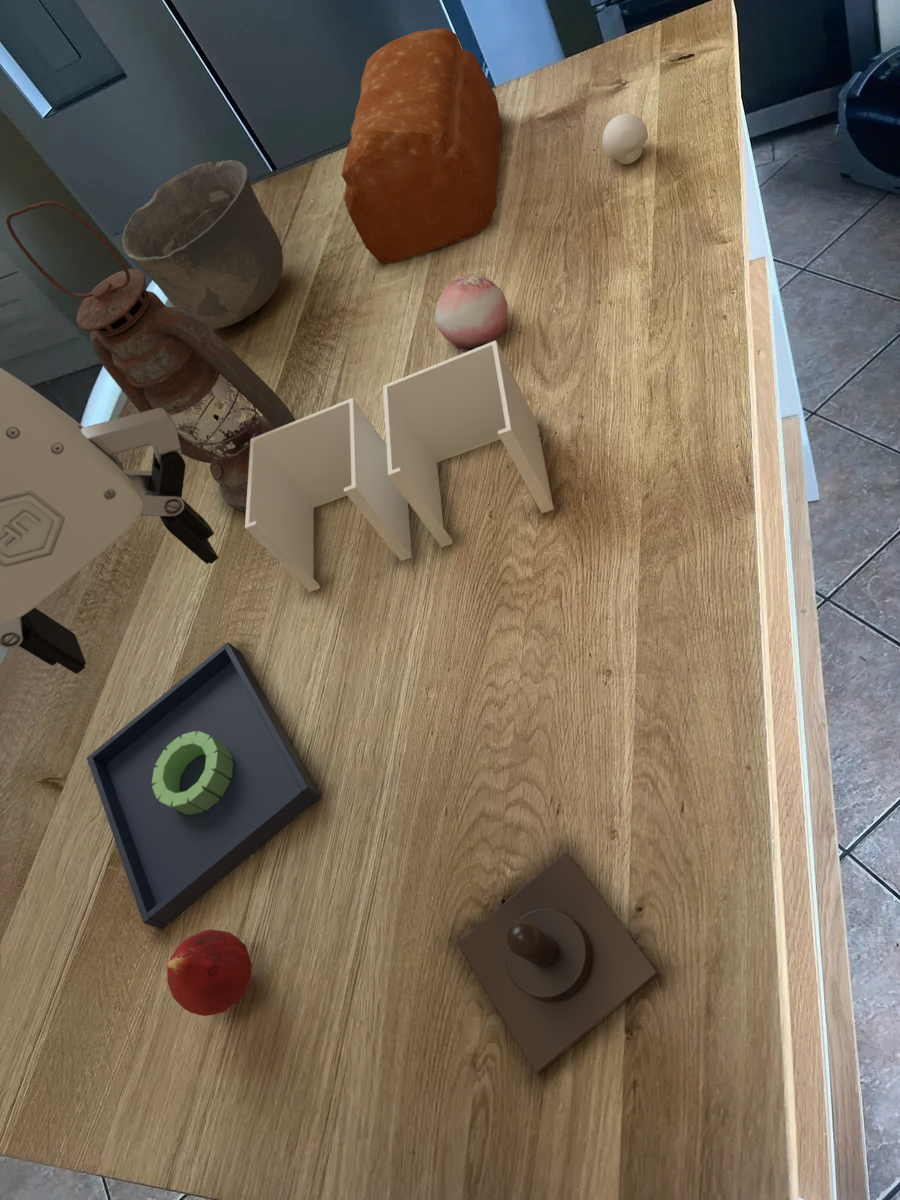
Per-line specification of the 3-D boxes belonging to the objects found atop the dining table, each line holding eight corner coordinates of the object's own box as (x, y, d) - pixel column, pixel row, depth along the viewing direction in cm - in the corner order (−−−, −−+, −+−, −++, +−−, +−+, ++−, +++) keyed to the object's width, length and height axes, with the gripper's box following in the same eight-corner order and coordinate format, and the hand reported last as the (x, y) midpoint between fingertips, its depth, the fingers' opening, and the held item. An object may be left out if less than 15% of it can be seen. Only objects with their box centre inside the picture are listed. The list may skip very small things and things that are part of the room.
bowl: (295, 234, 124) (231, 135, 112) (326, 298, 112) (258, 196, 101) (188, 303, 126) (115, 214, 114) (208, 373, 115) (129, 282, 103)
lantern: (224, 440, 106) (-13, 185, 79) (341, 423, 99) (125, 136, 72) (193, 517, 101) (-70, 273, 74) (314, 505, 94) (71, 229, 67)
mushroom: (616, 180, 101) (605, 140, 97) (603, 159, 104) (591, 120, 100) (658, 157, 100) (648, 116, 96) (643, 137, 103) (632, 97, 99)
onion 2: (532, 328, 94) (507, 275, 88) (476, 376, 94) (448, 326, 88) (489, 301, 99) (464, 249, 93) (436, 347, 99) (408, 297, 93)
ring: (183, 830, 78) (165, 821, 76) (160, 774, 83) (142, 765, 81) (243, 780, 78) (227, 770, 77) (217, 727, 83) (201, 716, 81)
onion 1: (238, 927, 72) (174, 902, 65) (285, 966, 68) (222, 944, 62) (194, 994, 70) (125, 975, 64) (239, 1038, 67) (171, 1023, 61)
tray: (160, 929, 74) (143, 923, 73) (102, 765, 87) (86, 757, 85) (321, 796, 75) (307, 787, 73) (240, 652, 87) (227, 641, 85)
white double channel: (536, 422, 87) (495, 340, 78) (553, 509, 80) (511, 429, 72) (310, 506, 94) (250, 438, 85) (309, 591, 87) (244, 528, 79)
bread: (371, 273, 111) (308, 169, 100) (390, 156, 124) (337, 51, 113) (500, 230, 105) (449, 113, 93) (507, 111, 118) (462, -5, 106)
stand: (538, 1074, 57) (498, 1062, 52) (458, 944, 64) (416, 921, 58) (658, 973, 57) (632, 950, 52) (567, 853, 64) (535, 822, 58)
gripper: (-277, 580, 37) (39, 741, 50) (55, 310, 37) (282, 542, 50) (-274, 487, 41) (13, 656, 54) (20, 249, 42) (235, 474, 55)
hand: (142, 601), depth 52 cm, fingers open, 9 cm apart
